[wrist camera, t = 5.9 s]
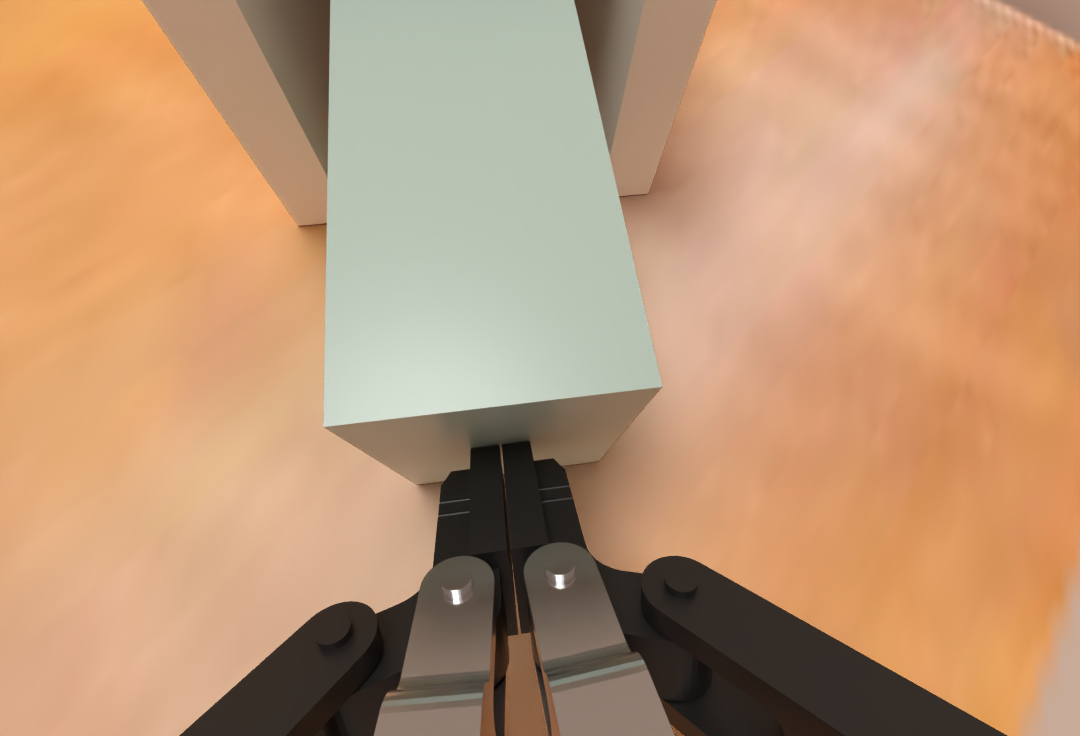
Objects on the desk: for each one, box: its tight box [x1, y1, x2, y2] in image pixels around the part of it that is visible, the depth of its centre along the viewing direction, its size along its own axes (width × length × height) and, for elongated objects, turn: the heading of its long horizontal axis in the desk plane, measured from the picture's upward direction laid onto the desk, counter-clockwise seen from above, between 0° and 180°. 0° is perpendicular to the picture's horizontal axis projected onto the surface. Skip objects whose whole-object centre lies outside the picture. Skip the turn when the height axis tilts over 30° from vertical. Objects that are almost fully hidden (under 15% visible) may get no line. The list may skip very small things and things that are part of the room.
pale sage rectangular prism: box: [324, 0, 662, 485], centre depth 15 cm, size 12×6×8 cm, turn 8°
